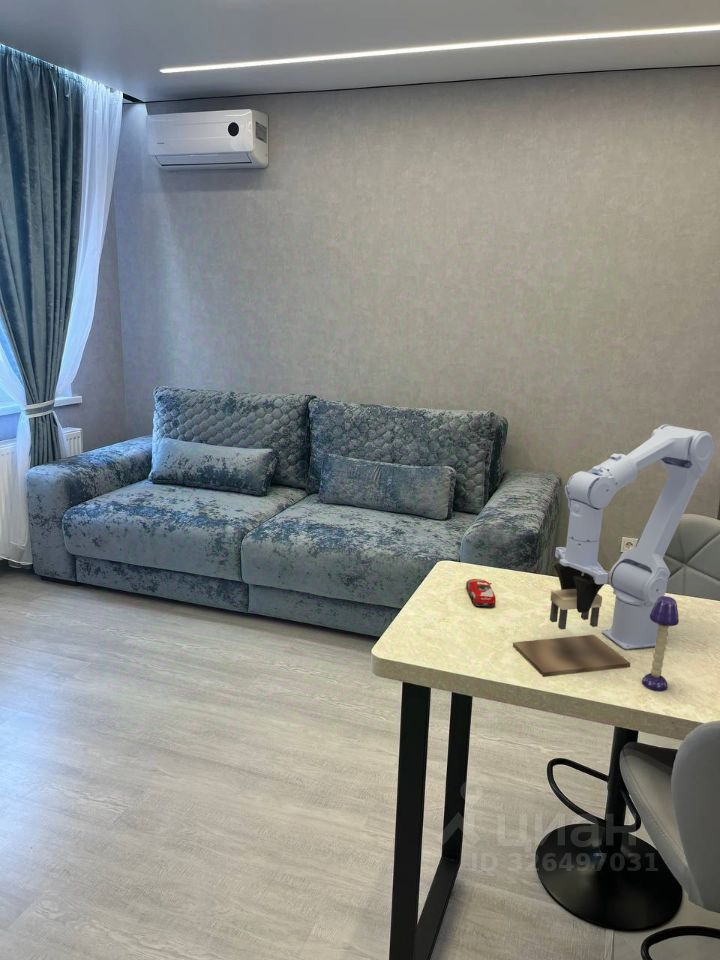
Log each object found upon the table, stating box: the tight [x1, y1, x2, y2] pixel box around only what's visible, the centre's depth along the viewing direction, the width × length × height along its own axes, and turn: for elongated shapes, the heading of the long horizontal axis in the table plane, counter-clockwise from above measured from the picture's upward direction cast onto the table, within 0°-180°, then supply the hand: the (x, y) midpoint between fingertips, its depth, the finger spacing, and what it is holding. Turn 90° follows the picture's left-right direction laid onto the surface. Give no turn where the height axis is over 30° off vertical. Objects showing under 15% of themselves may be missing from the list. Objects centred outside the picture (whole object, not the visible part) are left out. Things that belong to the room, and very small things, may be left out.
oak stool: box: [549, 589, 603, 630], centre depth 133 cm, size 4×8×6 cm, turn 103°
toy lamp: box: [641, 595, 680, 692], centre depth 124 cm, size 5×5×17 cm
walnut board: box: [512, 634, 631, 677], centre depth 135 cm, size 18×12×1 cm, turn 105°
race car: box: [465, 578, 497, 607], centre depth 162 cm, size 13×5×4 cm, turn 179°
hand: (575, 606), depth 133 cm, fingers closed on oak stool, 4 cm apart
